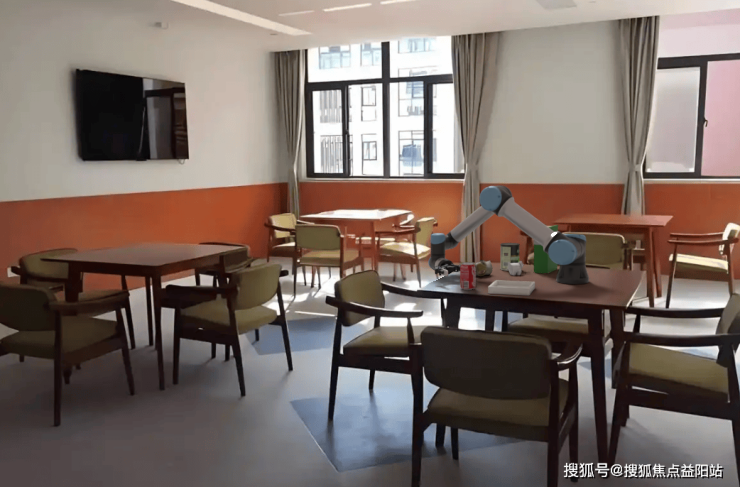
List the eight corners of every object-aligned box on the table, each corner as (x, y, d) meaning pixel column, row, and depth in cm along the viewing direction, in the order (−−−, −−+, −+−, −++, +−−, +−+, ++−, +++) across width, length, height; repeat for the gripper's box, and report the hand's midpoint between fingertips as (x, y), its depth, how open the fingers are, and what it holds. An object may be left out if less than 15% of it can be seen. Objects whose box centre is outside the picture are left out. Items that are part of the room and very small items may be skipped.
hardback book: (543, 268, 362) (544, 224, 359) (557, 268, 358) (557, 224, 355) (533, 272, 347) (534, 227, 344) (547, 273, 343) (548, 227, 340)
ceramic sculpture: (498, 258, 340) (478, 263, 331) (498, 274, 342) (479, 280, 332) (482, 256, 349) (463, 261, 339) (482, 272, 350) (463, 277, 340)
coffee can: (519, 268, 363) (519, 242, 362) (519, 271, 353) (519, 244, 352) (500, 267, 365) (500, 242, 364) (500, 270, 355) (500, 244, 354)
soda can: (474, 287, 309) (474, 262, 307) (476, 290, 302) (477, 264, 300) (459, 287, 309) (459, 262, 307) (461, 290, 302) (461, 264, 300)
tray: (534, 288, 304) (534, 281, 304) (529, 295, 287) (529, 288, 287) (495, 286, 310) (495, 279, 310) (488, 293, 294) (488, 286, 293)
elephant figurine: (516, 272, 348) (516, 259, 347) (525, 275, 339) (525, 261, 338) (503, 273, 346) (503, 260, 345) (512, 276, 337) (512, 262, 336)
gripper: (467, 272, 336) (485, 278, 315) (421, 275, 330) (436, 282, 309) (467, 257, 335) (485, 263, 315) (421, 260, 329) (435, 266, 308)
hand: (460, 272), depth 312 cm, fingers open, 13 cm apart
